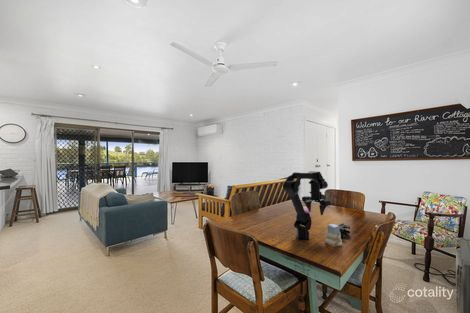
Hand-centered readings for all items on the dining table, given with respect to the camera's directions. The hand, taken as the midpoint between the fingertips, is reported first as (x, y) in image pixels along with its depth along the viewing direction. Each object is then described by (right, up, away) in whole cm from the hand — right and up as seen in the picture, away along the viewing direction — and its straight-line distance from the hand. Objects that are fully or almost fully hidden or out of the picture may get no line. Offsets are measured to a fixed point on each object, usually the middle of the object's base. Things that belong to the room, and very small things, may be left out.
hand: (315, 213), depth 132 cm
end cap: (+14, -13, -5) cm, 20 cm away
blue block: (+4, -6, -17) cm, 18 cm away
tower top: (+4, -10, -16) cm, 19 cm away
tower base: (+4, -13, -17) cm, 22 cm away
